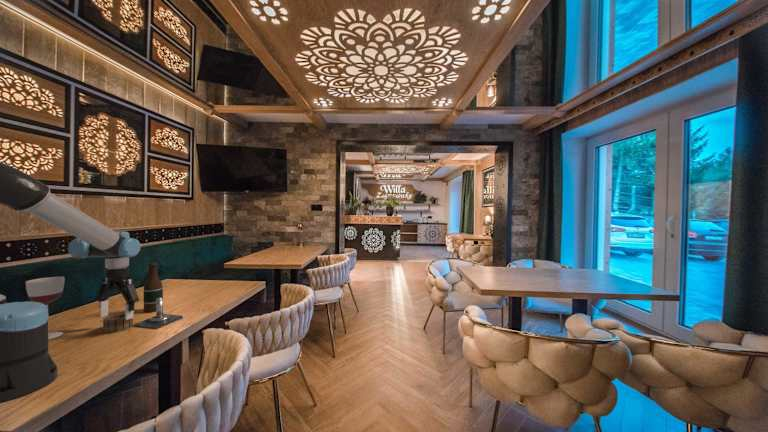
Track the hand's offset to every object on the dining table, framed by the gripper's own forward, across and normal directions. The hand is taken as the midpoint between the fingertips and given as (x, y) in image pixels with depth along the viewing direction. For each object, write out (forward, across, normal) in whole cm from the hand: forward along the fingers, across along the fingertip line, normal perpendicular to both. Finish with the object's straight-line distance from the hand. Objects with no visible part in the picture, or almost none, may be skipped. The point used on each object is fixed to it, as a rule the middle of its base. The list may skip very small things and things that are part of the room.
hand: (116, 317), depth 120 cm
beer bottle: (+4, +7, -22) cm, 23 cm away
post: (+5, -11, -10) cm, 15 cm away
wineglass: (+5, +19, +11) cm, 23 cm away
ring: (+5, 0, -1) cm, 5 cm away
